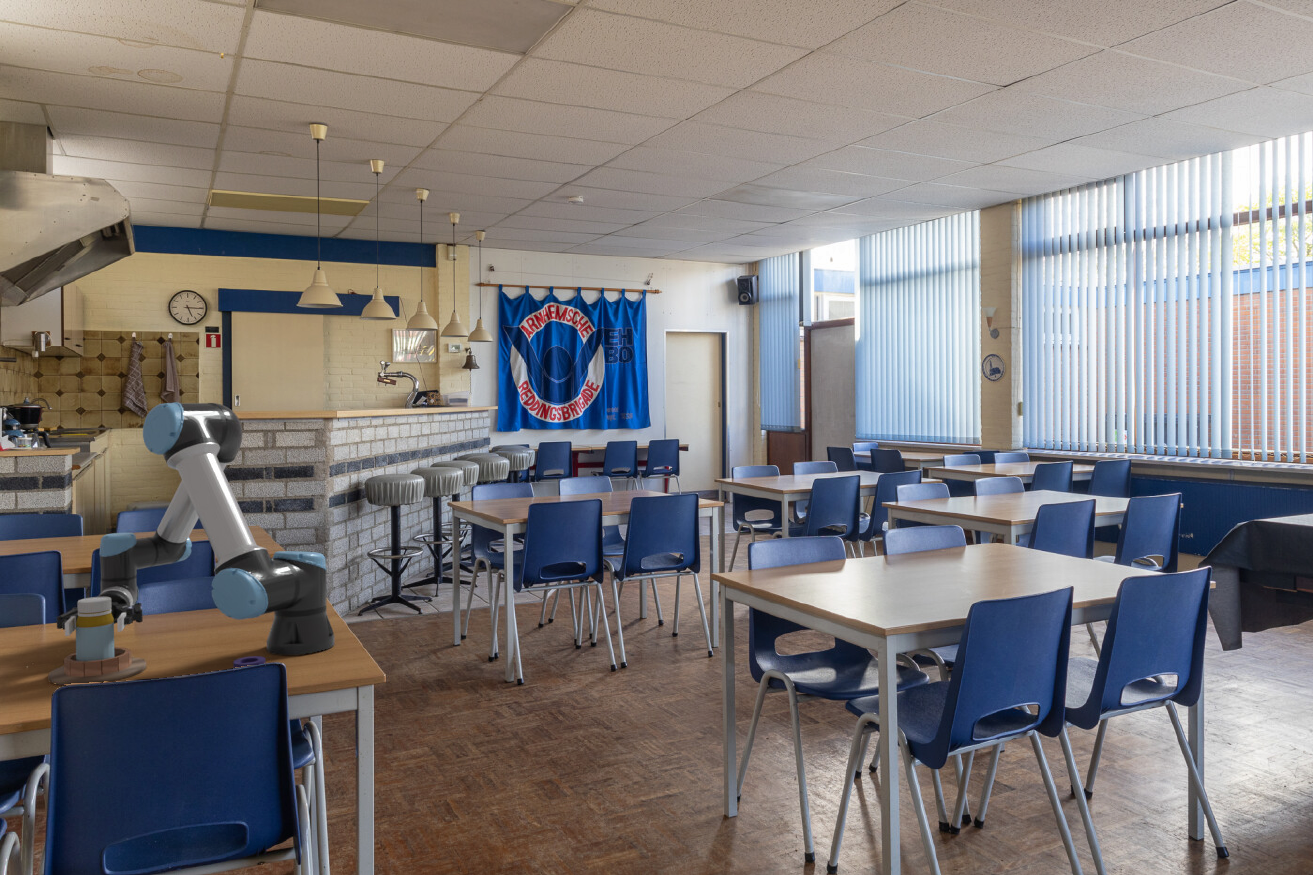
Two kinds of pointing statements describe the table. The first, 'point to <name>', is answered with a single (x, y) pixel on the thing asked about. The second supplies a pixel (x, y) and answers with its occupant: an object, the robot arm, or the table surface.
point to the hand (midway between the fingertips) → (93, 627)
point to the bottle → (94, 629)
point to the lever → (248, 661)
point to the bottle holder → (98, 668)
